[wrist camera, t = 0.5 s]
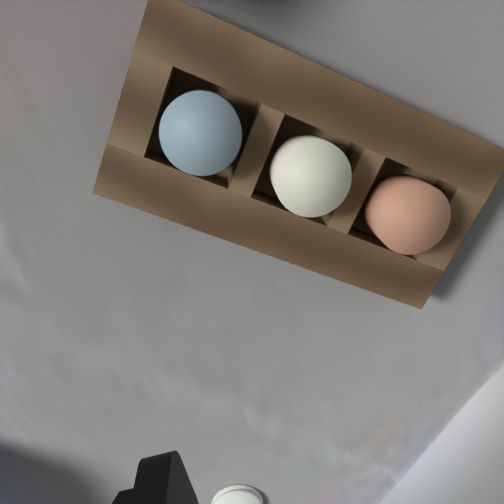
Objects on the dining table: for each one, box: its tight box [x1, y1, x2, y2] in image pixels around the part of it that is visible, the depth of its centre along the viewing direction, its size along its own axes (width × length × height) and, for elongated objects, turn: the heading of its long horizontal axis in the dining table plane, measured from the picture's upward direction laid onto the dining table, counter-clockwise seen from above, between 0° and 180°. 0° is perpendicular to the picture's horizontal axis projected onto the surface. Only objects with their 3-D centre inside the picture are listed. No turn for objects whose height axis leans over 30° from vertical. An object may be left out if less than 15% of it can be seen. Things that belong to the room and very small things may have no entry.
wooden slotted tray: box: [93, 0, 504, 309], centre depth 30 cm, size 12×24×4 cm, turn 68°
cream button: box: [269, 134, 352, 217], centre depth 28 cm, size 5×5×3 cm
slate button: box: [159, 90, 242, 176], centre depth 26 cm, size 5×5×3 cm
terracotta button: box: [363, 174, 451, 255], centre depth 29 cm, size 5×5×3 cm
